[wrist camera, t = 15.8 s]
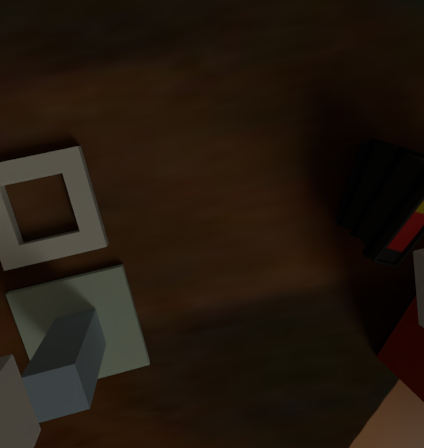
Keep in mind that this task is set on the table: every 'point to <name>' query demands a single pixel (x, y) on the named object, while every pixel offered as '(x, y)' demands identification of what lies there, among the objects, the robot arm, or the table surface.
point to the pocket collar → (80, 199)
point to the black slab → (385, 201)
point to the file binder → (406, 351)
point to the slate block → (66, 366)
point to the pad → (79, 302)
